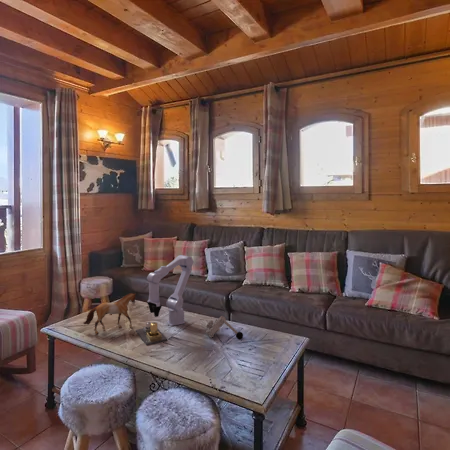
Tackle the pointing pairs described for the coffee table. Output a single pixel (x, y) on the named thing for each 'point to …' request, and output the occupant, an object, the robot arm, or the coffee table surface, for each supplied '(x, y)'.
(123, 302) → the horse figurine
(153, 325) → the brass fitting
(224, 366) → the coffee table surface
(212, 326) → the valve
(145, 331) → the plate
